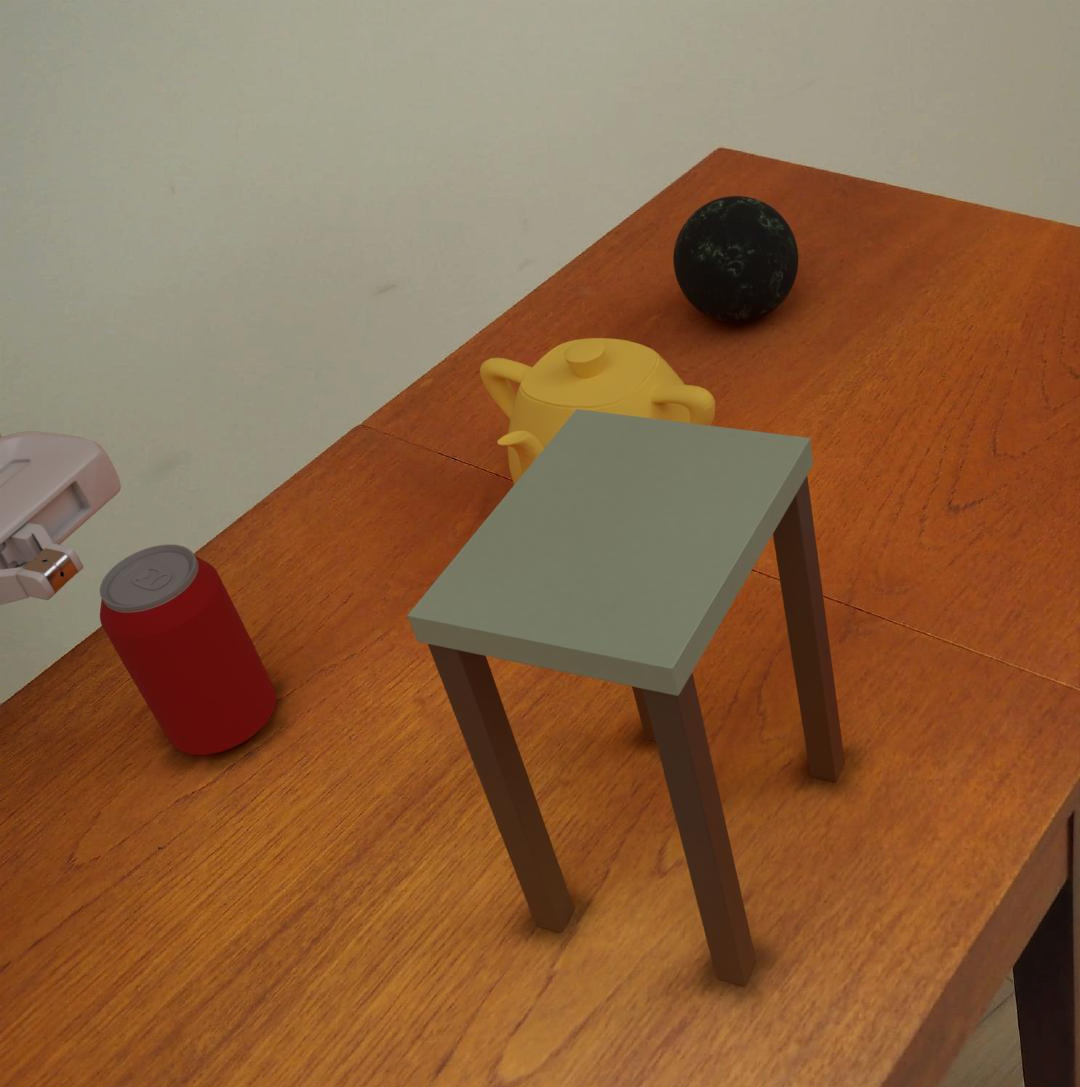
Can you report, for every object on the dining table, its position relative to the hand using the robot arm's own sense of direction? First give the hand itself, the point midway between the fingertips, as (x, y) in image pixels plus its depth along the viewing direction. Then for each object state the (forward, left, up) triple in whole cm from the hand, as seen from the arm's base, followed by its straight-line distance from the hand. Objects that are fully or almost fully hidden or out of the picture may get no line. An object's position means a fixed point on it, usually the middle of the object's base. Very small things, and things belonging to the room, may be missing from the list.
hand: (62, 574), depth 81 cm
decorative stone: (+53, +13, -11) cm, 56 cm away
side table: (+23, -32, -10) cm, 41 cm away
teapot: (+32, -3, -11) cm, 34 cm away
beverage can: (+4, -6, -11) cm, 13 cm away
